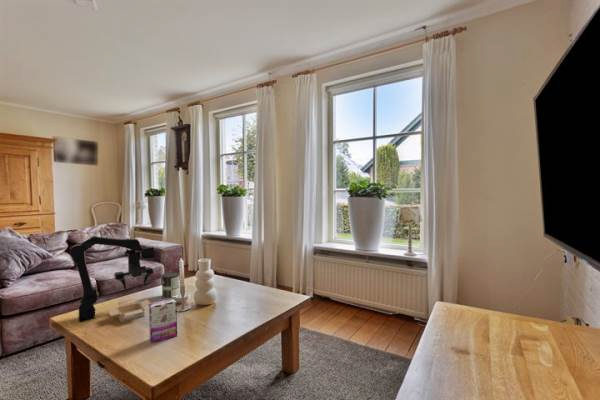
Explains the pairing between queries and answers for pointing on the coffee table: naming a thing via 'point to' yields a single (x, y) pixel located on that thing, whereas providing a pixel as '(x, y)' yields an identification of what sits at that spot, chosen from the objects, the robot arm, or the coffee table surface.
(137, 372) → the coffee table surface
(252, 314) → the coffee table surface
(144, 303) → the flap far
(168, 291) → the coffee can
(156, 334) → the candy bar box
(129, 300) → the flap left
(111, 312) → the carton
